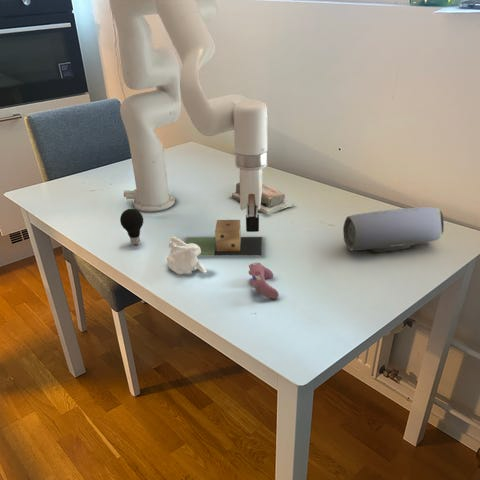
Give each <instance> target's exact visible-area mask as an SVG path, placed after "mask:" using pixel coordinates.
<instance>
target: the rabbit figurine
mask: <svg viewBox="0 0 480 480" xmlns="http://www.w3.org/2000/svg"><path fill="white" fill-rule="evenodd" d="M168 247H169V248H170V251H169V253H168V254H167V255H166V262H167V266H168V268H169V269H170V270H171V271H173V272H174V273H176V274H178V275H182V274H188V275H190V274H192V271H196V270H197V269H198V270H199V271H200V272H201V273H203V274H206V273H207V272H208V271H207V270H206V269H205V267H204V266H203V264H202V263H201V262H200V260H199V258H198V256H197V255H199V254H200V253H201V249H200V247H199V246H198V245H196V244H194V243H190V244H186V242H184V241H183V240H181V238H178V237H176V236H171V237H170V239H169V242H168Z"/></svg>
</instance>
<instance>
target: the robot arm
mask: <svg viewBox="0 0 480 480" xmlns="http://www.w3.org/2000/svg"><path fill="white" fill-rule="evenodd" d="M109 2H110V9H111V13H112V16H113V19H114V23H115V26H116V31H117V35H118V36H117V37H118V38H117V39H118V48H119V58H120V67H121V74H122V79H123V82H124V84H125V86H126V87H127V88H129V89H130V90H132V91H133V90H134V91H141V90H147V89H151V88H156V89H155V90H150V91H145V92H140V93H136V94H135V93H134V94H132V95H130V96H128V97H126V98H125V99H124V100H123V101H122V102H121V104H120V107H119V113H120V118H121V120H122V121H121V122H122V124H123V127H124V130H125V133H126V136H127V140H128V145H129V151H130V158H131V163H132V169H133V176H134V182H135V188H136V189H133V190H129V189H128V190H127V189H126V190H123V196H124V198H125V199H126V200H133V207H134V209H136V210H138V211H142V212H160V211H164V210H167V209H169V208H171V207H173V206H174V205H175V203H176V201H175V197H174V196H173V195H172V194H170V192H169V183H168V176H167V175H168V174H167V168H166V167H167V166H166V158H165V152H164V145H163V142H162V139H160V137H159V136H158V135H157V134H156V132H155V129H158V128H161V127H164V126H168V125H171V124H174V123H175V122H177V121H178V120H179V119H180V116H181V112H182V104H183V107H184V109H185V111H186V113H187V115H188V117H189V119H190V121H191V123H192V124H193V126H194V128H195V130H197V132H199V133H200V134H201V135H202V136H205V137H213V136H217V135H220V134H223V133H226V132H230V131H233V138H234V139H233V140H234V157H235V158H234V163H235V165H234V166H235V167H236V168H237V169H239V182H240V201H239V209H240V210H241V211H243V210H244V211H245V210H246V214H245V227H246V228H245V231H246V232H247V233H259V231H260V214H259V211H258V210H259V209H260V205H261V196H262V184H263V169H264V168H266V167H268V106H267V104H266V103H265V102H264V101H261V100H258V99H250V98H248V97H246V96H244V95H242V94H239V93H231V94H226V95H222V96H217V97H213V98H210V99H207V97H206V95H205V93H204V91H203V88H202V86H201V81H200V77H199V76H200V69H201V68H202V67H204V66H205V65H206V64H207V63H208V62H209V61H210V60H211V59H212V58H213V56H214V54H215V53H216V43H215V42H214V40H213V37H212V35H211V33H210V30H208V26H207V25H206V24H208V23H210V22H212V21H213V20H214V18H215V17H216V14H217V9H218V8H217V7H218V6H217V0H109ZM151 15H158V16H159V19H160V20H161V23H162V25H163V27H164V30H165V31H166V33H167V36H168V37H169V39H170V41H171V43H172V46H173V47H174V49H175V52H176V53H177V55H176V54H175V52H174V51H173V50H172V49H171V48H170V47H168V46H166V45H156V46H154V43H153V32H152V28H151V26H150V24H149V22H148V21H147V19H146V18H145V16H151ZM177 56H178V57H179V59H180V61H181V65H182V66H181V69H180V65H179V61H178V58H177ZM180 70H181V71H180Z"/></svg>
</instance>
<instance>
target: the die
mask: <svg viewBox="0 0 480 480" xmlns="http://www.w3.org/2000/svg"><path fill="white" fill-rule="evenodd" d="M215 223H216V224H215V227H214V228H215V229H214V233H215V236H214V237H216V251H240V246H241V237H242V231H241V229H242V228H241V219H217V220H216V222H215Z"/></svg>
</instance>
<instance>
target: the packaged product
mask: <svg viewBox="0 0 480 480" xmlns="http://www.w3.org/2000/svg"><path fill="white" fill-rule="evenodd" d="M231 198H232V199H234V200H236V201H238V202H240V181H239V182H237V183H235V192H232V193H231ZM285 198H286V194H285V193H283V192H280V191H279V190H276V189H274V188H272V187H269V186H268V185H265V184H264V183H262V196H261V205H260V209H259V210H258V212H259V213H262V214H264V215H269V214H270V215H271V214H274V213H276V212H279V211H281V210H284V209H287V208H291V207H293V202H290V201H289V200H286V199H285Z"/></svg>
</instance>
